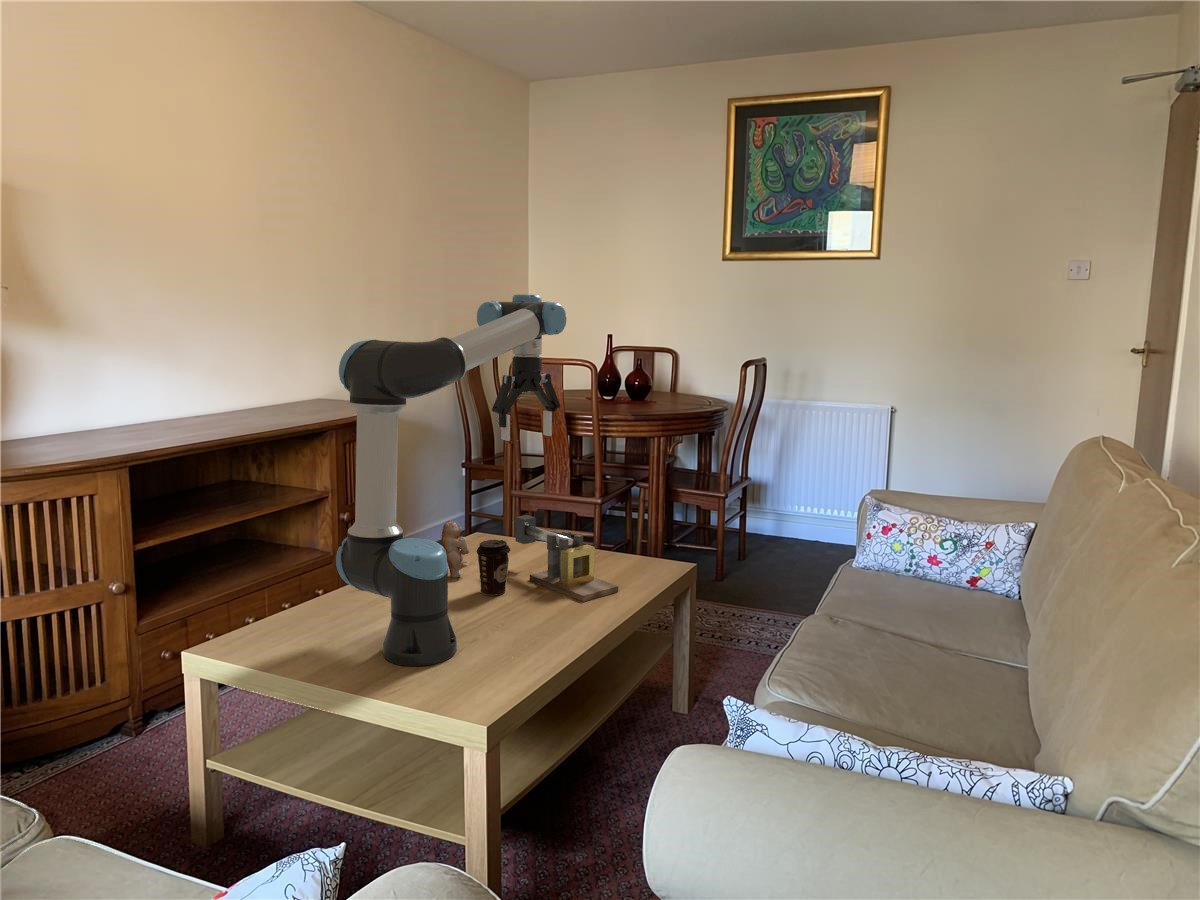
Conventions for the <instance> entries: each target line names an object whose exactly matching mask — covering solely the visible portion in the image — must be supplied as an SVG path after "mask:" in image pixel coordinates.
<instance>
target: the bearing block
mask: <svg viewBox="0 0 1200 900" xmlns="http://www.w3.org/2000/svg"><path fill="white" fill-rule="evenodd" d="M561 535H562V536H565V537H568V538H571V539H572V531H570V530H563V531H561ZM573 539H574V540H575V541H576V546H575V547H578V546H583V545H584V535H581V534H574V535H573ZM565 549H568V539H567V538H559V546H556V535H554V534H547V542H546V550H547V570H543V571H539V572H536V573H532V574H529V581H531V582H533V583H536V584H538V585H541V586H544V587H546V588H548V589H550V590H554V591H555V592H559V593H560V594H563V595H566V596H568V597H571V598H573V599H576V600H578V601H580V602H583V603H584V602H586V601H590V600H594V599H597V598H601V597H604V596H607V595H612V594H615V593H618V592H619V586H618V585H616V584H614V583H610V582H608V581H605V580H603V579H601V578H597V577H595V576H594V580H592V581H588V582H584V583H581V584H577V585H573V586H569V587H567V586H564V585H562V584H561V550H565ZM580 572H582V556H581V557H577V558H573V574H576V573H580Z"/></svg>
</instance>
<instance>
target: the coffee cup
mask: <svg viewBox="0 0 1200 900" xmlns="http://www.w3.org/2000/svg"><path fill="white" fill-rule="evenodd" d="M510 552H511V548H510V546H509V544H508V543H507V541H506V540H502V539H500V540H498V539H488V540H487V539H486V540H483V541H481V542H480V543H479V546H478V547H477V549H476V554H477V555H478V556H477V559H478V571H479V582H480V593H481V594H482V595H485V596H491V597H493V596H498V595H502V594H504V593H506V587H507V586H506V585H507V580H508V579H507V578H508V569H509V563H510V561H509V555H508V554H509V553H510Z"/></svg>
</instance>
